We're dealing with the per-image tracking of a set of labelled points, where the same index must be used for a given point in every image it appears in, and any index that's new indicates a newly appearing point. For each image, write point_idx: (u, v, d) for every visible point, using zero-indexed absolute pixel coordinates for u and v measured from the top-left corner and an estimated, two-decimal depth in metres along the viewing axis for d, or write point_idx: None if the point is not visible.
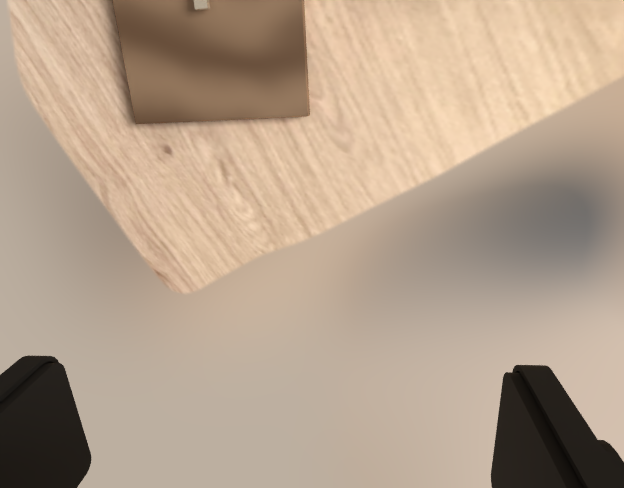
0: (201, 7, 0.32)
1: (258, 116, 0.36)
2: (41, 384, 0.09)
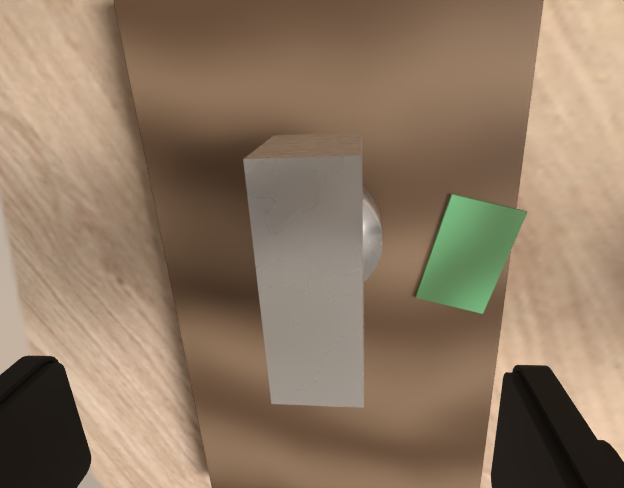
0: None
1: None
2: (41, 384, 0.09)
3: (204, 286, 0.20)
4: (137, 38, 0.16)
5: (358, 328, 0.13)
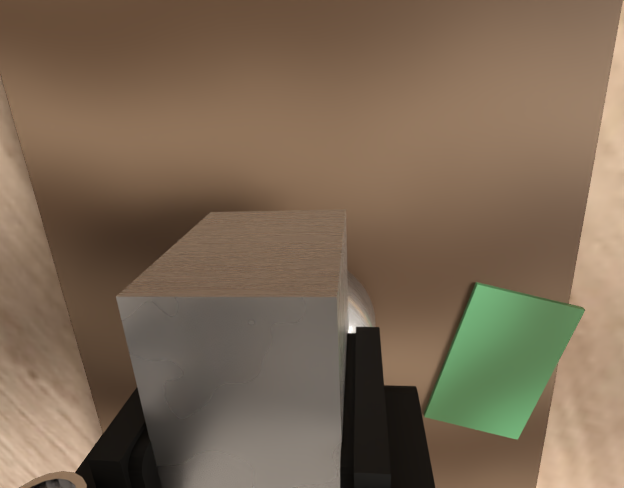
0: None
1: None
2: None
3: None
4: (20, 62, 0.11)
5: None
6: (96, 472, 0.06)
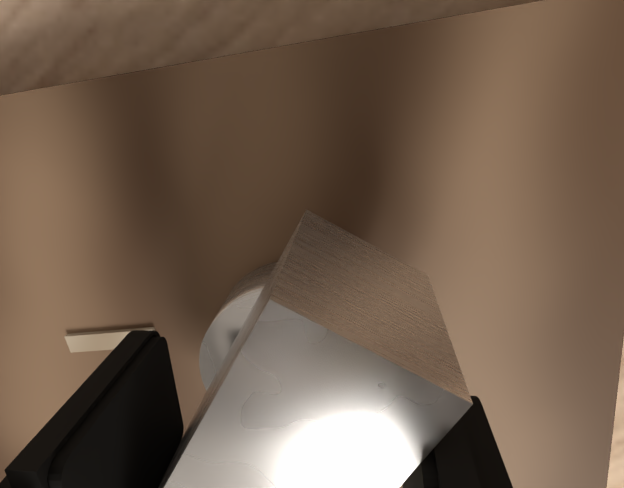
0: None
1: None
2: (152, 355, 0.09)
3: (147, 138, 0.11)
4: (581, 26, 0.09)
5: None
6: (14, 482, 0.06)
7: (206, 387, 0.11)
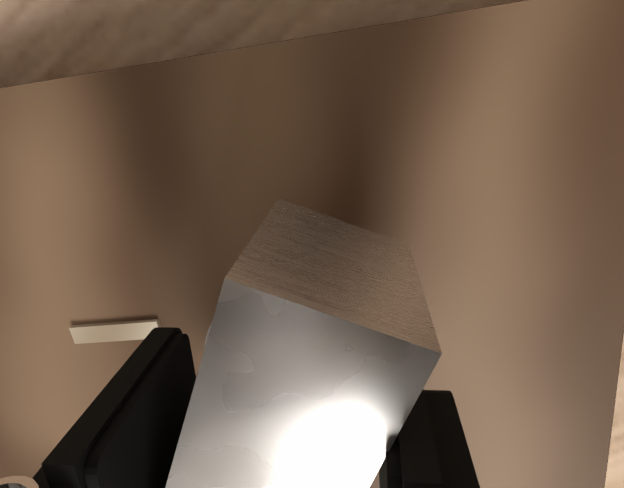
0: None
1: None
2: (176, 351, 0.09)
3: (154, 131, 0.11)
4: (585, 22, 0.10)
5: None
6: (50, 476, 0.06)
7: None
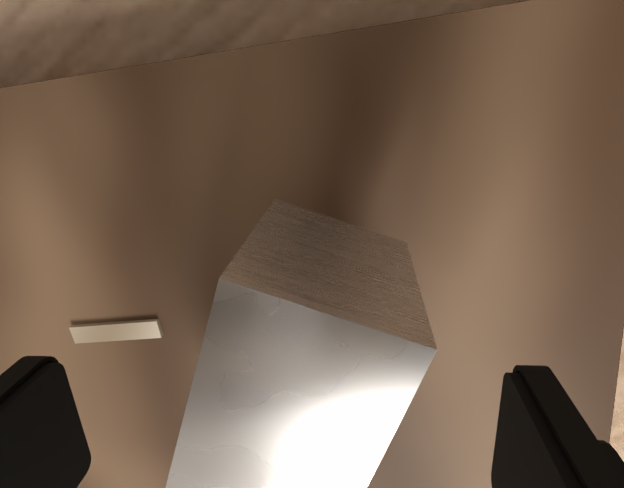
0: None
1: None
2: (41, 384, 0.09)
3: (154, 131, 0.11)
4: (585, 23, 0.10)
5: None
6: None
7: None
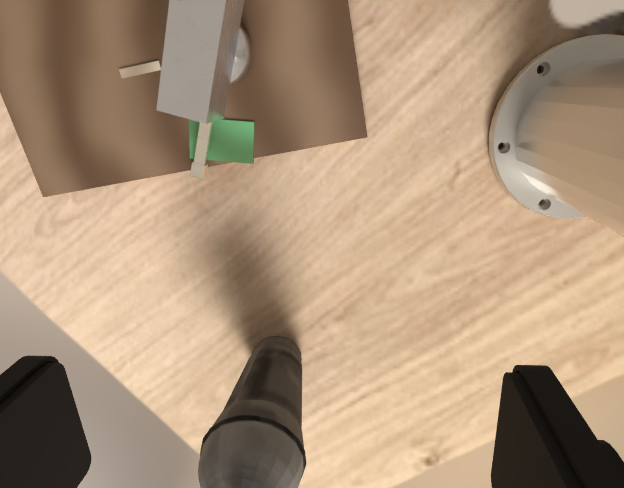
0: (197, 176, 0.32)
1: (23, 144, 0.33)
2: (41, 384, 0.09)
3: None
4: None
5: (212, 70, 0.24)
6: None
7: None
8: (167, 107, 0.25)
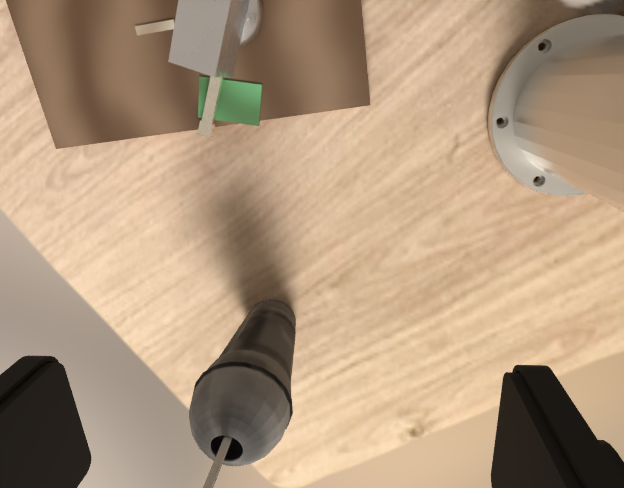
0: (204, 134, 0.33)
1: (40, 96, 0.34)
2: (41, 384, 0.09)
3: None
4: None
5: (223, 25, 0.25)
6: None
7: None
8: (178, 59, 0.26)
